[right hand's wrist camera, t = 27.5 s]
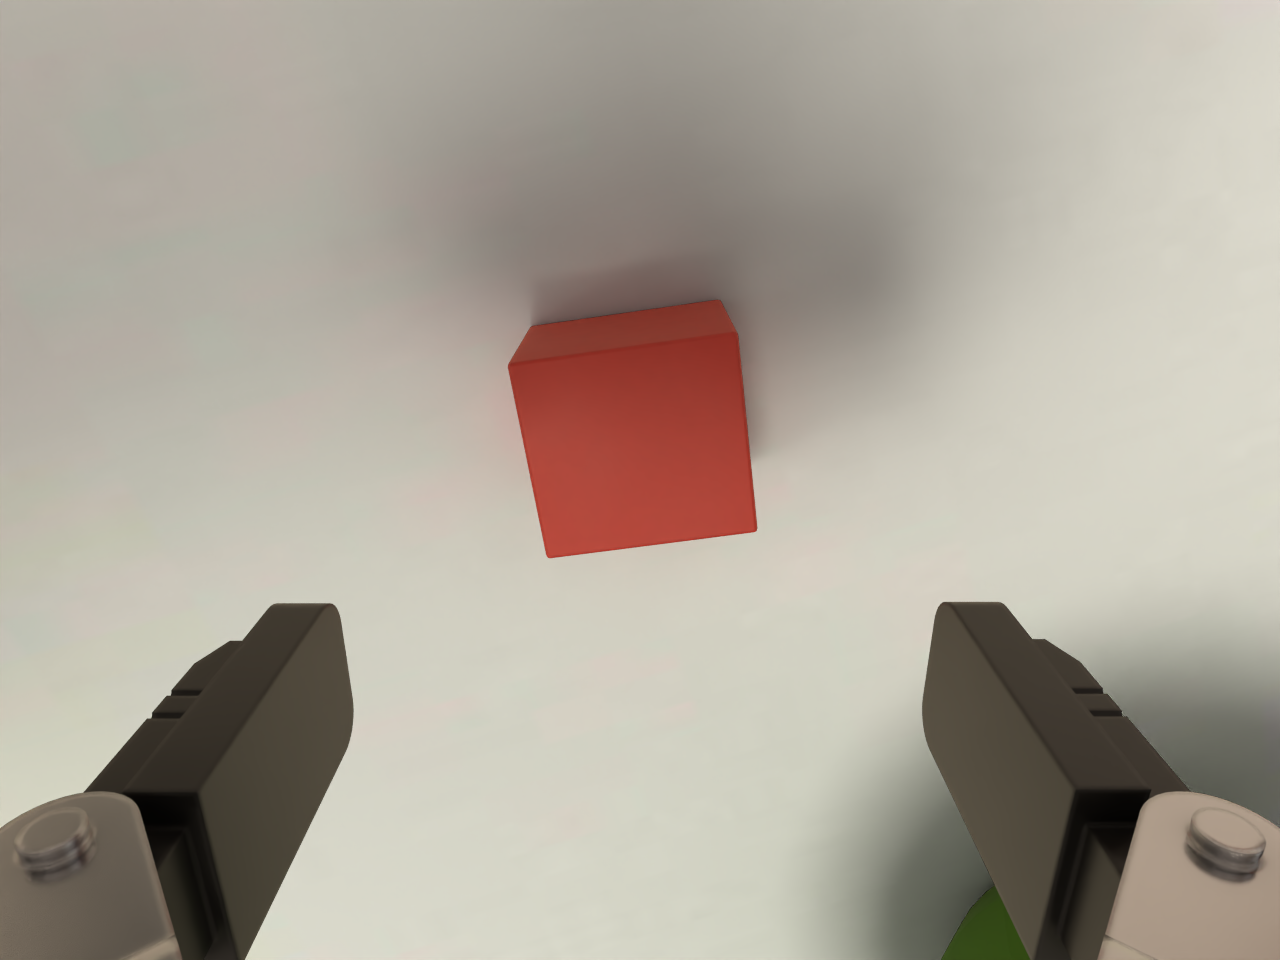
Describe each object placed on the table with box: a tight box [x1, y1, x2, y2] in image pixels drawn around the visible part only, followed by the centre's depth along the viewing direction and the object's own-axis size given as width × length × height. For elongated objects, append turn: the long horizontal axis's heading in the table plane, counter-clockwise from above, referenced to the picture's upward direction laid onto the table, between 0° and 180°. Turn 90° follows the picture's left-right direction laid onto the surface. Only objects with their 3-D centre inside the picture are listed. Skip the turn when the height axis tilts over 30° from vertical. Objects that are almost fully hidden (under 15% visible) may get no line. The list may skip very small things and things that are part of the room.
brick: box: [508, 300, 757, 558], centre depth 21 cm, size 5×5×4 cm
